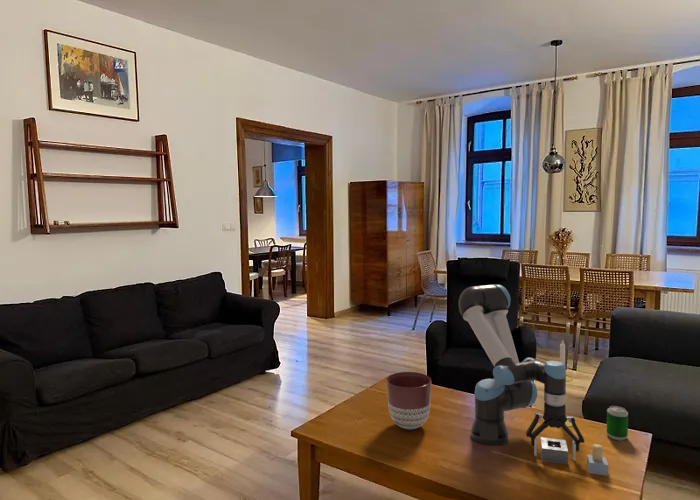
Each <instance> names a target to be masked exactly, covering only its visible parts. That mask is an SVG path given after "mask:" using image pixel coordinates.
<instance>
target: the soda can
mask: <svg viewBox="0 0 700 500" xmlns="http://www.w3.org/2000/svg"><path fill="white" fill-rule="evenodd" d="M628 430H629V412H628V411H627V410H626V409H625V408H624V407H621V406H617V405H611V406H609V408H607V409H606V435H608V437H609V438H610V439H612V440H615V441H625V440H626V439H627V438H628V435H629V434H628Z"/></svg>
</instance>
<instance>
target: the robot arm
mask: <svg viewBox="0 0 700 500" xmlns="http://www.w3.org/2000/svg"><path fill="white" fill-rule="evenodd" d="M510 305H511V295H510V293H509V291H508V290H507V288H506V287H505V286H503V285H501V284H493V283H492V284H491V283H490V284H486V285H477V286H476V285H474V286H469V287H466V288H465V289H464V290H463V291H462V292H461V293H460V295H459V298H458V308H459V309H458V310H459V313H460V315H461V317H462V319H463V320H464V321H466V322H468V324H469V326H470V328H471V329H472V331H473V332H474V334H475V337H476V338H477V340H478V342H479V343H480V345H481V347H482V348H483V349H484V351H485V353H486V355H487V357H488V358H489V360H490V361H491V364H492V365H493V367H494V368H493V370H492V375H493V378H485V379H484V378H483V379H481V380H479V381H478V382H477V383H476V385H475V388H474V413H475V414H474V420H473V422H472V425H471V429H470V437H471V439H473V440H474V441H475V442H477V443H479V444H482V445H486V446H501V445H504V444H506V443H508V442H509V437H510V436H509V435H510V434H509V430H508V428H507V425H506V422H505V412H508V411H513V410H519V409H526V408H527V407H531V406H533V405H535V403H536V401H537V398H538V389H537V384H536V383H535V381H537V382H539V383H542V384H543V385H544V387H543V399H544V400H543V401H544V403H543V413H542V414H541V413H539V412H537V411H536V412H535V413H534V418H533V420H532V421H531V423H530V425H529V427H528V428H527V430H526V431H525V434H526V435H525V436H526V437H527V438H530V445H531V447H533V455H534V457H537V456H538V455H537V453H538V452H537V450H538V448H537V446H538V445H537V443H538V442H537V437H538V436H539V435H540V434H541V433H542V432H543V431H544V430H545V429H547V428H548V427H550V428H557V429H560V428H561V429H562V430H564V432H566V433H567V435H568V436H569V437H570V439H571V440H572V460H573V461H574V462H576V461H577V460H576V459H577V454H576V453H577V452H578V453H579V451H580V444H581V443H582V444H584V443H585V439H584V438H585V437H584V436H583V435H582V433H581V431H580V428H579V427H578V426H577V423H576V419H575V416H574V415H570V416H566V415H567V413H566V412H567V411H566V408H567V407H566V404H567V403H566V397H567V396H566V395H567V394H566V393H567V392H566V391H567V389H566V387H567V382H566V375H567V371H566V369H567V368H566V364H565V365H564V364H563V363H561V362H560V361H557V360H548V361H545V362H544V361H541V360H539V359H537V358H533V357H526V358H524V359H523V360H522V361H521V362H520V361H519V357H518V354H517V350H516V347H515V343H514V339H513V336H512V332H511V329H510V325H509V321H508V319H507V314H508V312H509V308H510ZM542 419H543V420H544V421H542V423H541V424H540V425H539V426H538V427H537V428H536V429H535V427H536V426H537V425H538V424H539V421H541V420H542ZM567 420H568V421H569V422H570V423H572V426H571V427H573V429H574V431H575V433H576V435H577V436H578V437H577V436H576V435H575V433H574V432H573V431H572V430H571V429H570V427H567V426H566V424H565V422H566V421H567Z"/></svg>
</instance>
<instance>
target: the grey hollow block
mask: <svg viewBox="0 0 700 500" xmlns="http://www.w3.org/2000/svg"><path fill="white" fill-rule="evenodd" d="M551 443H554V444H557V445H558V447H550V444H551ZM539 444H540V448H539V449H540V457H541V462H546V463H555V464H563V465H568V464H569V449H568V444H567V441H566V439H559V438H552V437H551V438H550V437H543V436H542V437H541V436H540V443H539Z"/></svg>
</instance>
